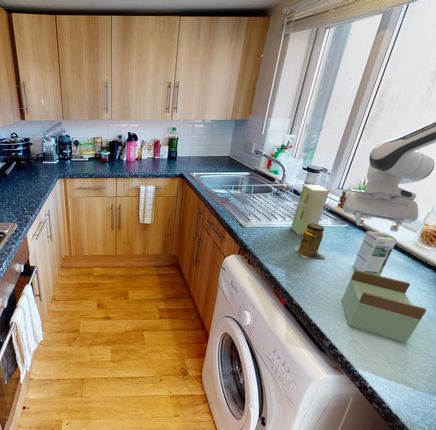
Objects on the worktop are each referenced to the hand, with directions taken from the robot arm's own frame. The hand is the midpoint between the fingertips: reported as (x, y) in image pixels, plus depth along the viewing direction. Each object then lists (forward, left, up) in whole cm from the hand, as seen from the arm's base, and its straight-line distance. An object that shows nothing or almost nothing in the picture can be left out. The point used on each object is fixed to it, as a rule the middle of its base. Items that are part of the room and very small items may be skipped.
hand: (376, 227), depth 101 cm
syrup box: (0, +7, -14) cm, 16 cm away
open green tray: (+4, +36, -14) cm, 39 cm away
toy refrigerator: (+19, -16, -14) cm, 29 cm away
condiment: (+17, +4, -14) cm, 23 cm away
